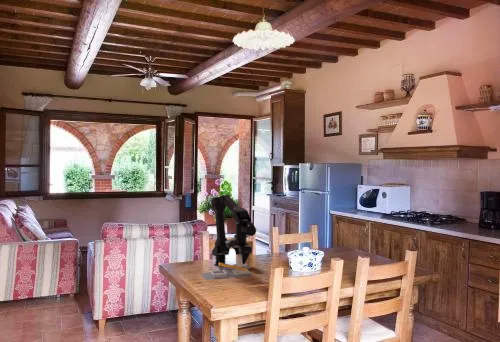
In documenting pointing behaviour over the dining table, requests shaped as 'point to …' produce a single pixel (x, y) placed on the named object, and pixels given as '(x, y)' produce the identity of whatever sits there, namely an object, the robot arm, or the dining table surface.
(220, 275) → the socket board
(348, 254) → the dining table surface
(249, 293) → the dining table surface
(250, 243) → the candy box
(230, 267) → the clip
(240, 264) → the plug
